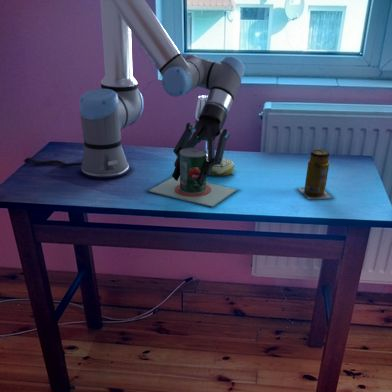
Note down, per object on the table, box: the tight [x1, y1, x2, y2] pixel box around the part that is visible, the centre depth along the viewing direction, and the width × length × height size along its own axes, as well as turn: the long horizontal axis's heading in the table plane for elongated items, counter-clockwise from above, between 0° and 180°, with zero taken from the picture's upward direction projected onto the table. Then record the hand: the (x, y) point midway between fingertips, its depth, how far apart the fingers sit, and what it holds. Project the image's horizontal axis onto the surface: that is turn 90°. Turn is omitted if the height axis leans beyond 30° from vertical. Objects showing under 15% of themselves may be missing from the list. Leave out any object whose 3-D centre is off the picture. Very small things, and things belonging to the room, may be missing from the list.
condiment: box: [298, 149, 332, 200], centre depth 155 cm, size 7×8×12 cm
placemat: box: [147, 176, 238, 208], centre depth 160 cm, size 22×15×1 cm
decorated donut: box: [207, 156, 236, 177], centre depth 172 cm, size 10×11×4 cm
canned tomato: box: [180, 147, 208, 194], centre depth 156 cm, size 8×8×11 cm
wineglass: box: [194, 94, 208, 158], centre depth 176 cm, size 8×8×20 cm
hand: (187, 181), depth 155 cm, fingers closed on canned tomato, 8 cm apart
